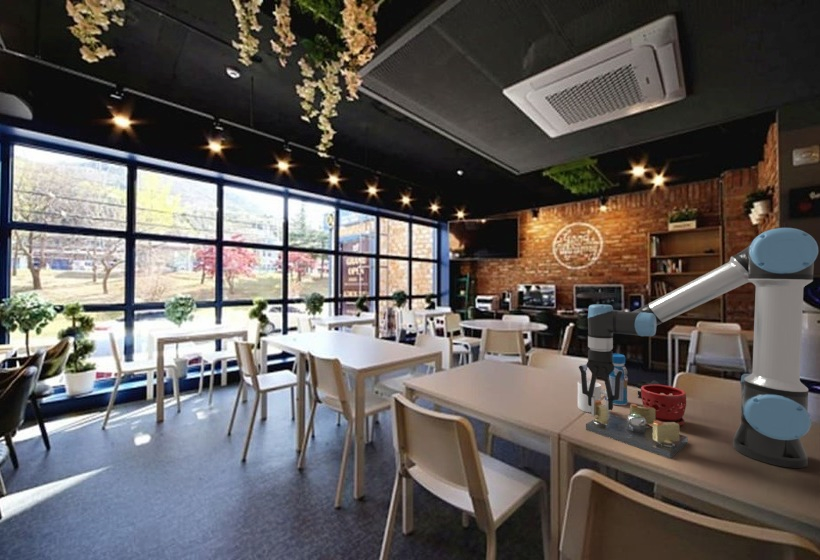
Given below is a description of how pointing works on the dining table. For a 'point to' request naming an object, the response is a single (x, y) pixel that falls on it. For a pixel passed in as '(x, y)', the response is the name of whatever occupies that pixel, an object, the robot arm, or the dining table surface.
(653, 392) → the end cap
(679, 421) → the plant pot
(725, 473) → the dining table surface
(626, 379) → the beverage bottle
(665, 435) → the knob
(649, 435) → the levelling plate
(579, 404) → the mug
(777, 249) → the robot arm
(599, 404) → the knob
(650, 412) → the knob rear
